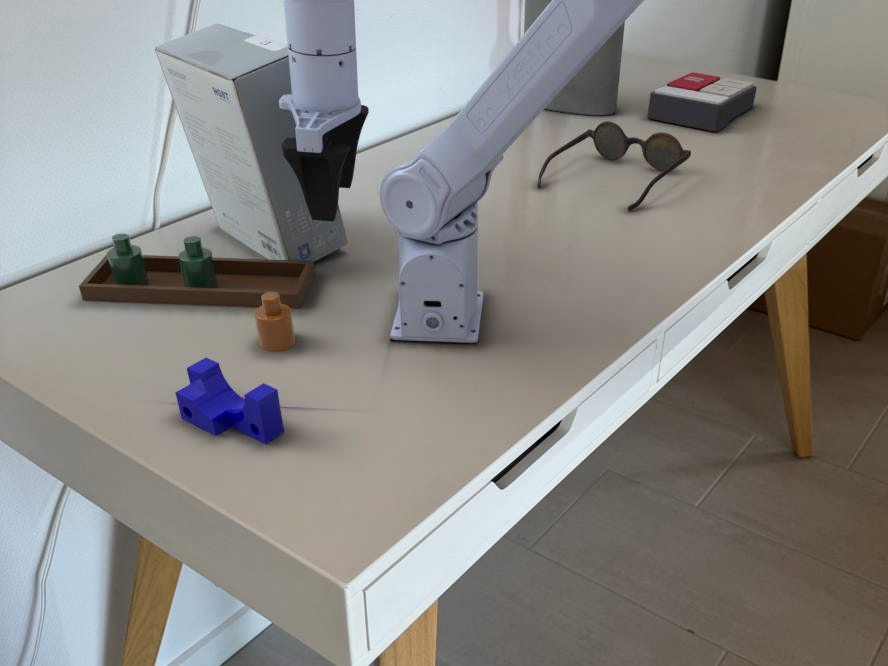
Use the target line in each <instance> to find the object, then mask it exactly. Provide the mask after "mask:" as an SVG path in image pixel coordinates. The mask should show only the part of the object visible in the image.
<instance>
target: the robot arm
mask: <svg viewBox="0 0 888 666" xmlns="http://www.w3.org/2000/svg"><path fill="white" fill-rule="evenodd" d="M644 1H645V0H552V1H551V2H550V3H549V5H548V6H547V7H546V8H545V9H544V11H543V12H542V13H541V14H540V15H539V17H538V18H537V19H536V20H535V21H534V23H533V24H532V25H531V26H530V28H529V29H528V30H527V31H526V32H525V34H524V33H523V35H522V36H521V37H520V38H519V40H517V42H516V43H515V44H514V46H513V47H512V48H511V49H510V50H509V51H508V53H507V54H506V55H505V56H504V58H502V60H501V61H500V62H499V64H498V65H497V66H496V68H494V70H493V71H492V72H491V73H490V75H489V76H488V77H487V78H486V79H485V81H484V82H483V83H482V84H481V85H480V86H479V88H478V89H477V90H476V91H475V93H474V94H473V95H472V96H471V97H470V99H469V100H468V101H467V102H466V104H465V105H464V106H463V107H462V108H461V110H460V111H459V112H458V113H457V114H456V115H455V117H454V118H453V119H452V120H451V122H450V123H449V124H448V125H447V126H445V128H444V129H442V130H441V131H440V132H439V133H438V134H437V135H436V136H435V137H434V138H433V139H432V140H430V141H429V142H428V143H427V144H426V145H425V146H424V147H423V148H422V149H421V150H419V152H418V153H417V154H416V156H414V157H412V158H410V159H409V160H408V161H406V162H404V163H402V164H399V165H396V166H394V167H392V168H391V169H390V170H388V171H387V172H386V174H385V175H384V177H383V178H382V180H381V183H380V187H379V201H380V206H381V210H382V212H383V214H384V216H385V218H386V219H387V221H388V222H389V224H390V225H391V226H392V227H393V228H394V229H395V235H396V236H397V247H398V248H397V249H398V267H399V268H398V269H399V273H398V299H399V302H398V305H397V309H396V312H395V316H394V319H393V323H392V327H391V331H390V339H391V340H395V341H412V342H413V341H416V342H440V343H441V342H443V343H464V344H465V343H467V344H474V343H477V342H478V341H479V334H480V327H481V326H480V325H481V320H482V319H481V318H482V311H483V304H484V303H483V302H484V292H483V291H481V290H478V248H479V247H478V242H479V240H478V237H479V235H478V234H479V231H478V228H479V227H478V226H479V224H478V223H479V222H478V221H479V218H478V215H479V212H478V211H479V210H478V209H479V205H478V204H479V201H480V200H482V199H483V197H485V195H486V193H487V192H488V190H489V187H490V185H491V184H490V183H491V179H492V175H493V172H494V171H495V169H496V168H497V167H498V165H500V163H501V162H502V161H503V160H504V153H505V152H506V151H507V150H508V149H509V148H510V147H511V146H512V145H513V144H514V143H515V142H516V141H517V140H518V138H519V137H520V136H521V135H522V134H523V133H524V131H526V130H527V129H528V128H529V127H530V125H531V124H532V123H533V122H534V121H535V120H536V119H537V118H538V116H539V115H540V114H542V112H544V110H546V109H545V108H546V107H547V105H548V104H549V103H550V102H551V101H552V100H553V99H554V98H555V97H556V96H557V95H558V93H559V92H560V91H561V90H562V89H563V88H564V87H565V86H566V85H567V84H568V83H569V81H570V80H571V79H572V78H573V77H574V76H575V75H576V74H577V73H578V72H579V71H580V69H581V68H582V67H583V66H584V65H585V64H586V63H587V62H588V61H589V60H590V59H591V57H592V56H593V55H594V54H595V53H596V52H597V51H598V50H599V49H600V48H601V47H602V46H603V44H604V43H605V42H606V41H607V40H608V39H609V38H610V37H611V36H612V35H613V34H614V32H615V31H616V30H617V29H618V28H619V27H620V26H621V25H622V24H623V23H624V22H625V23H626V21H627V19H628V18H629V17H630V16H631V15H632V14H633V13H634V12H635V11H636V10H637V9H638V7H640V6H641V4H643V2H644ZM283 9H284V11H283V12H284V19H285V22H284V23H285V32H286V43H287V44H286V45H287V46H288V55H289V67H290V78H291V90H292V95H283V96H282V97H281V98H280V99H279V107H280V108H281V109H285V110H290V111H291V112H292V114H293V117H294V120H295V123H296V125H297V126H296V128H295V131H296V138H289V137H286V139H285V140H284V142H283V143H282V152H283V155H284V157H285V159H286V160H287V161H288V163H289V164H290V166H291V167H292V169H293V171H294V173H295V174H296V176H297V178H298V181H299V183H300V186H301V189H302V192H303V195H304V198H305V201H306V204H307V207H308V210H309V213H310V216H311V218H312V220H319V221H334V220H335V218H336V214H337V209H338V205H339V199H340V198H339V197H340V189H351V187H352V184H353V179H354V175H355V166H356V161H357V160H356V159H357V153H358V146H359V141H360V138H361V133H362V130H363V127H364V124H365V122H366V120H367V117H368V116H369V113H370V110H369V109H370V108H369V106H367V105H366V104H365V105H364V104H362V100H361V99H360V97H359V82H358V79H359V78H358V57H357V54H358V53H357V36H356V35H357V33H356V12H355V11H356V9H355V0H283Z"/></svg>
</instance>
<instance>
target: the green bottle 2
mask: <svg viewBox="0 0 888 666" xmlns="http://www.w3.org/2000/svg"><path fill="white" fill-rule="evenodd" d="M201 239H202V238H201V237H200V236H199V235H198V236H197V235H189V236H187V237H184V239H183V246H184V249H183V250H182V251H180V252H179V253H178V255H177V256H178V259H179V264H180V268H181V273H182V278H183V282H184V287H193V288H217V287H218V282H217V277H216V271H215V266H214V261H213V258H214V255H213V252H212V250H211V249H209V248H207V247H203V243H202V240H201Z"/></svg>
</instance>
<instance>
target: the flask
mask: <svg viewBox="0 0 888 666" xmlns="http://www.w3.org/2000/svg"><path fill="white" fill-rule="evenodd" d="M551 1H552V0H524V20H523V35H524V34H525V32H526V31H527V30H528V29H529V28H530V26H531V25H532V24H533V23H534V21H535V20H536V19H537V18H538V17H539V15H540V14H541V13H542V12H543V11H544V9H545V8H546V7H547V6H548V5H549V3H550V2H551ZM625 25H626V21H625V22H624V23H623V24H622V25H621V26H620V27H619V28H618V29H617V30H616V31H615V32H614V34H613V35H612V36H611V37H610V38H609V39H608V40H607V41H606V42H605V43H604V44H603V46H602V47H601V48H600V49H599V50H598V51H597V52H596V53H595V54H594V55H593V56H592V57H591V59H590V60H589V61H588V62H587V63H586V64H585V65H584V66H583V67H582V68H581V69H580V71H579V72H578V73H577V74H576V75H575V76H574V77H573V78H572V79H571V80H570V81H569V83H568V84H567V85H566V86H565V87H564V88H563V89H562V90H561V91H560V92H559V93H558V95H557V96H556V97H555V98H554V99H553V100H552V101H551V102H550V103H549V104H548V105H547V107H546V108H545V109H544V110H547V111H552V112H557V113H566V114H573V115H582V116H594V117H596V116H609V115H612V114H615V112H616V111H617V106H618V97H619V96H618V95H619V86H620V77H621V67H622V66H621V65H622V55H623V46H624V35H625V27H626V26H625Z"/></svg>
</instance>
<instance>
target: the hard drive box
mask: <svg viewBox="0 0 888 666" xmlns="http://www.w3.org/2000/svg"><path fill="white" fill-rule="evenodd" d="M154 51H155V54H156V57H157V59H158V60H157V61H158V62H159V65H160V68H161V71H162V73H163V76H164V78H165V81H166V84H167V87H168V90H169V93H170V96H171V98H172V101H173V104H174V107H175V109H176V112H177V115H178V118H179V121H180V123H181V126H182V129H183V131H184V134H185V137H186V140H187V143H188V145H189V149H190V150H191V154H192V156H193V159H194V162H195V164H196V168H197V170H198V174H199V176H200V179H201V182H202V184H203V187H204V189H205V192H206V195H207V197H208V201H209V204H210V206H211V209H212V212H213V214H214V217H215V220H216V222H217V225H218V227H219V229H220V230H221V231H223V232H225V233H227V234H228V235H230V236H232V237H233V238H234V239H236V240H238V241H239V242H241V243H242V244H243V245H245V246H247V247H249V248H250V249H252V250H253V251H255V252H256V253H258V254H259V255H261V256H263V257H264V258H265V259H268V260H296V261H313V263H315V262H317V261H319V260H320V259H322V258H324V257H326V256H327V255H330V254H331V253H333V252H335V251H337V250H339V249H340V248H342V247H344V246H347V245H348V243H349V241H348V238H347V233H346V229H345V225H344V221H343V217H342V213H341V210H340V205H339V204H338V209H337V214H336V218H335V220H334V221H319V220H312V218H311V216H310V213H309V210H308V207H307V204H306V201H305V198H304V195H303V192H302V189H301V186H300V183H299V181H298V178H297V176H296V174H295V173H294V171H293V169H292V167H291V166H290V164H289V163H288V161H287V160H286V159H285V157H284V155H283V152H282V143H283V142H284V140H285V139H286V137H289V138H296V131H295V128H296V126H297V125H296V123H295V120H294V117H293V114H292V112H291V111H290V110H285V109H281V108H280V107H279V99H280V98H281V97H282V96H283V95H292V90H291V78H290V67H289V55H288V45H287V44H283V43H281V42H279V41H278V42H277V41H274V40H271V39H268V38H265V37H262V36H259V35H256V34H252V33H249V32H246V31H242V30H239V29H237V28H235V27H234V28H233V27H231V26H227V25H224V24H221V23H214V24H211V25H209V26H205V27H203V28H200V29H198V30H195V31H193V32H190V33H186V34H185V35H182V36H180V37H177V38H175V39H172V40H169V41H167V42H164V43H161V44H159V45H157V46H156V45H155V46H154Z"/></svg>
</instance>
